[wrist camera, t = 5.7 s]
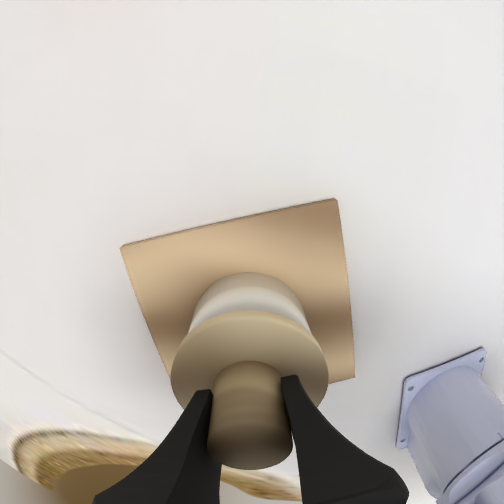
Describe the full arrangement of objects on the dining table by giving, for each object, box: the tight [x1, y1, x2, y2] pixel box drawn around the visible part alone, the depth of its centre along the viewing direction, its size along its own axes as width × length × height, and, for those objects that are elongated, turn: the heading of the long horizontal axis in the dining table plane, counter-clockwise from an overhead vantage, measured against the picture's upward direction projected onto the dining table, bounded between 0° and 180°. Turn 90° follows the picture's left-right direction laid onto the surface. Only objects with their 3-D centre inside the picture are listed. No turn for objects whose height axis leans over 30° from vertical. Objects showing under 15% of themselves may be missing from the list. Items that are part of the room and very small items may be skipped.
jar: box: [188, 272, 311, 333], centre depth 16 cm, size 6×6×4 cm
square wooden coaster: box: [120, 198, 355, 384], centre depth 19 cm, size 12×12×1 cm
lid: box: [171, 310, 329, 470], centre depth 12 cm, size 7×7×4 cm
